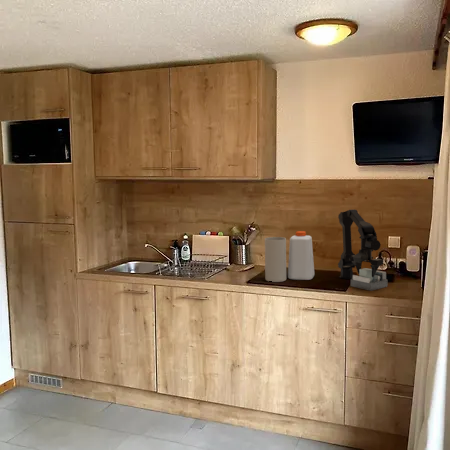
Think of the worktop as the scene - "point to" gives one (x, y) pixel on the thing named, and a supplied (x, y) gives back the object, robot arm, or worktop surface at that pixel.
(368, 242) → the robot arm
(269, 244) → the cylinder vase
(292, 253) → the plastic bottle
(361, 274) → the block
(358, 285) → the base
